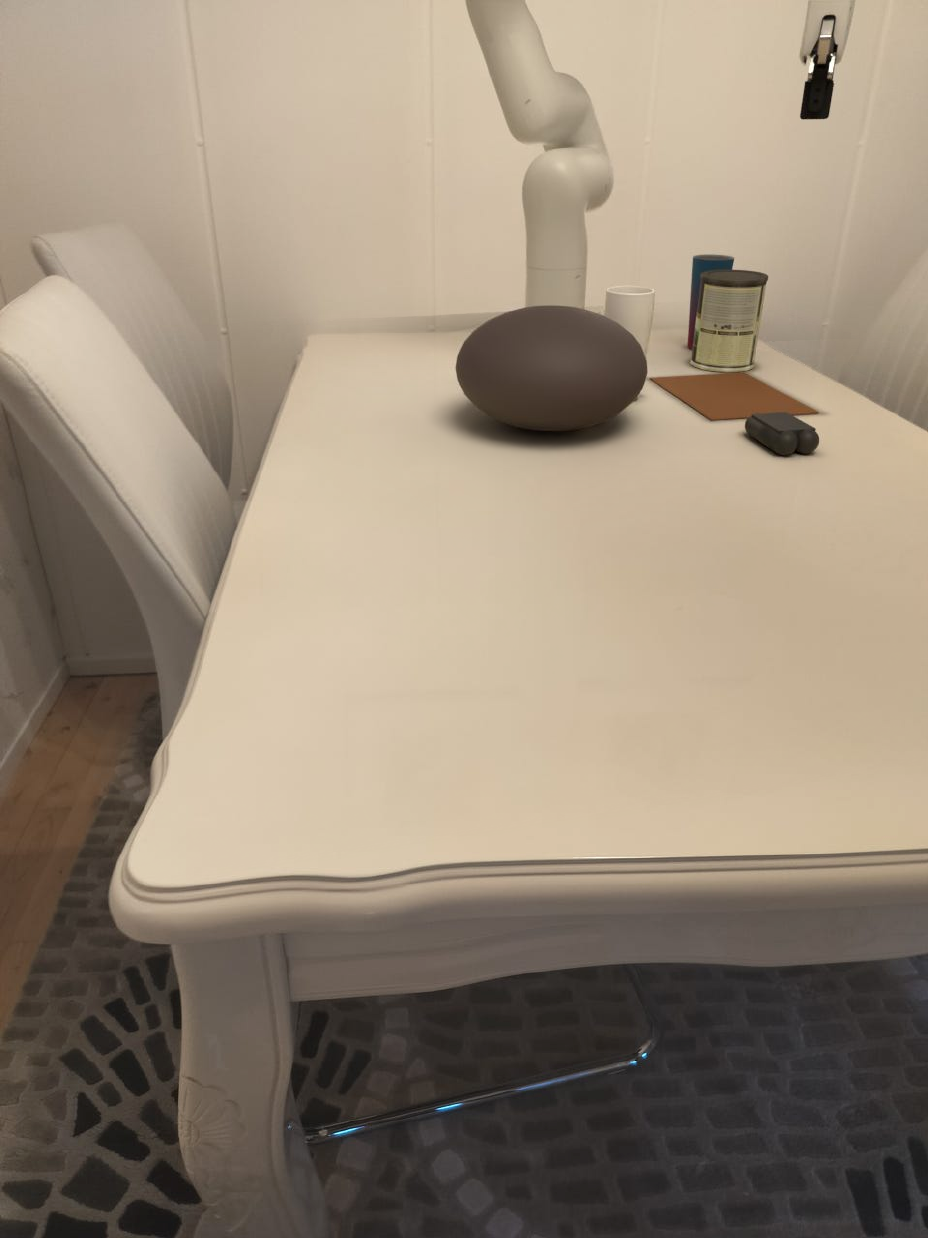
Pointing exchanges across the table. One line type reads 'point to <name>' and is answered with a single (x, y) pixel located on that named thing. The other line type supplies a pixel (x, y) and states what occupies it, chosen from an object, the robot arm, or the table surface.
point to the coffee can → (728, 320)
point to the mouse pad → (730, 396)
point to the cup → (699, 266)
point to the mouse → (782, 432)
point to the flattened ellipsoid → (551, 368)
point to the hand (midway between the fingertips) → (814, 118)
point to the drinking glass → (631, 311)
